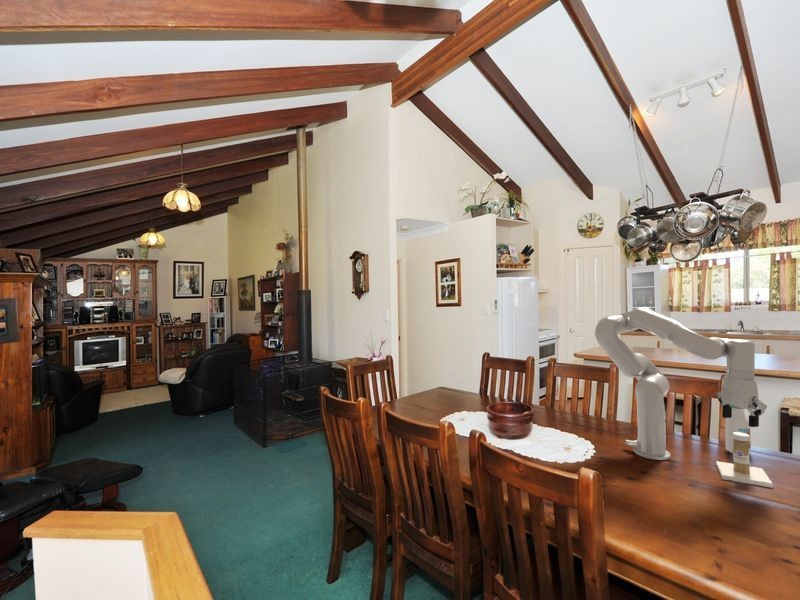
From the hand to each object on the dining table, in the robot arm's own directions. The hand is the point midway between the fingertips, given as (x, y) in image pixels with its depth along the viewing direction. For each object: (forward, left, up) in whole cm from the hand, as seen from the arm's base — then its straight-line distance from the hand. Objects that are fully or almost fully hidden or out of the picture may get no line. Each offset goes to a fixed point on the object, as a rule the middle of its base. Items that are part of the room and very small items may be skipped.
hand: (739, 422), depth 138 cm
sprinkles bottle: (0, 0, -18) cm, 18 cm away
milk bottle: (+3, +26, -19) cm, 33 cm away
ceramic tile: (0, 0, -19) cm, 19 cm away
